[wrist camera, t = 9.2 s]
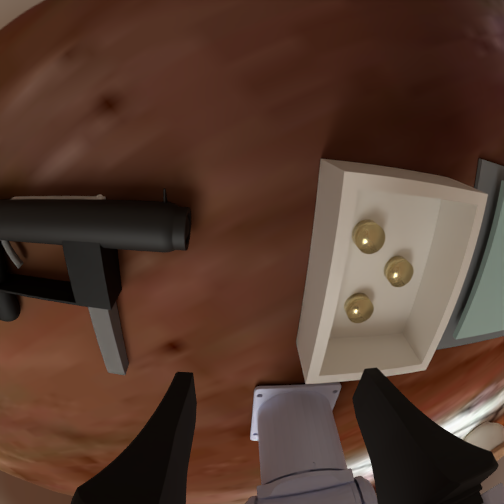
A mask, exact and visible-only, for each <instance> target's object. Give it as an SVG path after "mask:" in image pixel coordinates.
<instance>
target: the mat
mask: <svg viewBox="0 0 504 504" xmlns="http://www.w3.org/2000/svg"><path fill="white" fill-rule="evenodd" d="M502 180H503V181H504V166H501V165H498V164H495V163H492V162H489V161H486V160H483V159H479V161H478V168H477V174H476V180H475V186H474V188H475V189H477V190H480V191H482V192H484V193H486V194H488V197H487V202H486V207H485V211H484V215H483V220H482V224H481V228H480V231H479V235H478V239H477V242H476V246H475V249H474V253H473V256H472V259H471V262H470V266H469V269H468V272H467V275H466V278H465V280H464V283H463V286H462V289H461V292H460V294H459V297H458V300H457V302H456V305H455V307H454V310H453V312H452V315H451V317H450V319H449V322H448V324H447V326H446V329H445V331H444V333H443V335H442V338H441V340H440V342H439V344H438V346H437V348H436V350H438V349H443V348H449V347H455V346H460V345H465V344H470V343H475V342H479V341H484V340H489V339H493V338H497V337H501V336H504V330H502V331H497V332H493V333H488V334H483V335H478V336H473V337H467V338H462V339H455V338H454V337H453V334H454V331H455V329H456V327H457V325H458V322H459V320H460V318H461V315H462V313H463V311H464V308H465V306H466V303H467V301H468V298H469V296H470V293H471V291H472V288H473V285H474V282H475V280H476V277H477V274H478V271H479V268H480V265H481V262H482V259H483V256H484V252H485V249H486V246H487V242H488V239H489V235H490V231H491V227H492V223H493V219H494V215H495V211H496V207H497V202H498V197H499V192H500V187H501V181H502Z"/></svg>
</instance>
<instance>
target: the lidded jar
mask: <svg viewBox="0 0 504 504" xmlns="http://www.w3.org/2000/svg"><path fill="white" fill-rule="evenodd" d="M464 441H466V442H468V443H470V444H472V445H475V446H477V447H480V448H483V449H486V450H488V451H491V452H492V453H493V455H494V457H495V459H496V461H498V460H499V459H500V458H501V457H503V455H504V426H502V425H501V424H498V423H490V422H489V421H487V422H485V423H483V424H481V425H479V426H478V427H476V428H475V429H474V430H472V431H471V432H470V433H469V434H468V435H467V436H466V437H465V439H464Z"/></svg>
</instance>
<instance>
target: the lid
mask: <svg viewBox="0 0 504 504" xmlns="http://www.w3.org/2000/svg"><path fill="white" fill-rule="evenodd" d="M502 330H504V181H503V180H502V181H501V187H500V192H499V197H498V202H497V207H496V211H495V215H494V219H493V223H492V227H491V231H490V235H489V239H488V242H487V246H486V249H485V252H484V256H483V259H482V262H481V265H480V268H479V271H478V274H477V277H476V280H475V282H474V285H473V288H472V291H471V293H470V296H469V298H468V301H467V303H466V306H465V308H464V311H463V313H462V315H461V318H460V320H459V322H458V325H457V327H456V329H455V331H454V334H453V337H454V338H455V339H462V338H467V337H473V336H478V335H483V334H488V333H493V332H497V331H502Z"/></svg>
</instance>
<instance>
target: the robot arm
mask: <svg viewBox="0 0 504 504" xmlns="http://www.w3.org/2000/svg"><path fill="white" fill-rule="evenodd" d="M340 390H341V384H340V383H339V382H334V383H321V384H305V385H280V386H257V387H256V388H255V389H254V399H253V411H252V422H251V433H250V439H251V440H253V441H259V455H260V470H261V484H262V485H260V486H257V496H252V497H250V498H249V499H248V501H247V502H246V503H245V504H504V486H503V484H502V483H500V484H498V485H496V486H495V487H493V488H491V489H490V490H488V491H486V492H485V493H483V494H482V495H480V492H479V491H480V490H482V486H481V484H480V483H481V482H482V481H484V480H485V479H486V478H488V476H490V475H491V474H492V473H493V472H494V471H495V470H496V469H497V467H498V463H497V461H496V459H495V457H494V455H493V453H492V452H491V451H488V450H486V449H483V448H480V447H477V446H475V445H472V444H470V443H468V442H466V441H464V440H462V439H460V438H458V437H456V436H455V435H453V434H451V433H450V432H448V431H446V430H445V429H443V428H442V427H440V426H439V425H438V424H436V423H435V422H434V421H432V420H431V419H429V418H428V417H427V416H426V415H425V414H423V413H422V412H421V411H420V410H419V409H418V408H417V407H415V406H414V405H413V404H412V403H411V402H410V401H409V400H408V399H407V398H406V397H405V396H404V395H403V394H402V393H401V392H400V391H399V390H398V389H397V388H396V387H395V386H394V385H393V384H392V383H391V382H390V381H389V380H388V378H387V377H386V376H385V375H384V374H383V373H382V372H381V371H380V370H379V369H378V368H377V367H376V368H367V369H364V371H363V374H362V376H361V379H360V381H359V384H358V386H357V389H356V391H355V393H354V396H353V404H354V409H355V414H356V418H357V421H358V424H359V427H360V430H361V433H362V436H363V439H364V442H365V445H366V448H367V451H368V454H369V457H370V460H371V464H372V469H373V474H374V479H375V486H376V493H377V497H376V494H375V491H374V489H373V486H372V484H371V483H370V482H369V481H368V480H366V479H364V478H363V477H362V476H358V477H355V478H354V477H353V473H352V469H347V465H346V461H345V458H344V454H343V450H342V446H341V442H340V439H339V435H338V431H337V428H336V424H335V420H334V417H333V413H332V410H333V408H334V405H335V403H336V400H337V398H338V395H339V392H340ZM196 406H197V401H196V394H195V386H194V377H193V373H189V372H177V373H176V374H175V376H174V379H173V381H172V383H171V385H170V387H169V389H168V391H167V392H166V394H165V396H164V398H163V399H162V401H161V403H160V404H159V406H158V407H157V409H156V411H155V412H154V414H153V415H152V417H151V418H150V419H149V421H148V422H147V424H146V425H145V426H144V428H143V429H142V430H141V432H140V433H139V434H138V435H137V437H136V438H135V439H134V440H133V441H132V442H131V443H130V445H129V446H128V447H127V448H126V449H125V450H124V451H123V452H122V453H121V454H120V455H119V456H118V457H117V458H116V459H115V460H114V461H113V462H111V463H110V464H109V465H108V466H107V467H105V468H104V469H103V470H102V471H101V472H99V473H98V474H97V475H95V476H94V477H93V478H91V479H90V480H88V481H87V482H85V483H84V484H82V485H81V486H79V487H78V488H77V490H76V492H75V494H74V496H73V498H72V501H71V504H186V482H187V470H188V463H189V458H190V452H191V446H192V440H193V435H194V429H195V422H196Z"/></svg>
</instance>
